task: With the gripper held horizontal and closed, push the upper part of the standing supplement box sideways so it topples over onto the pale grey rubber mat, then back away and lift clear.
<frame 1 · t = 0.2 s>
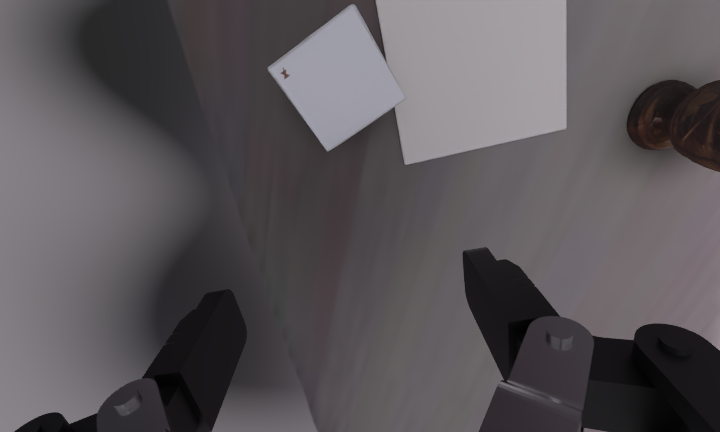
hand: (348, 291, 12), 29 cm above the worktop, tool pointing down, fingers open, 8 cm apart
supplement box: (340, 81, 37), on the worktop
mortar and pestle: (642, 118, 39), on the worktop
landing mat: (474, 50, 36), on the worktop
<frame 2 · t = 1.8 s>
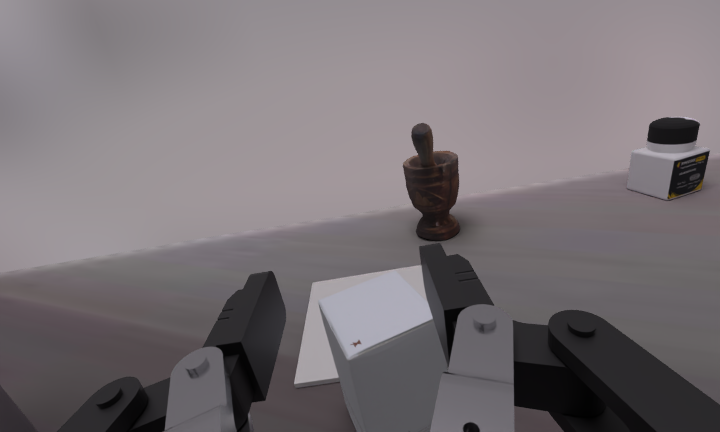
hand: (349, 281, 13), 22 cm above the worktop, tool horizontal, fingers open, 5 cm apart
supplement box: (398, 422, 31), on the worktop
medicine bottle: (661, 190, 60), on the worktop
mortar and pestle: (439, 236, 60), on the worktop
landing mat: (384, 315, 44), on the worktop
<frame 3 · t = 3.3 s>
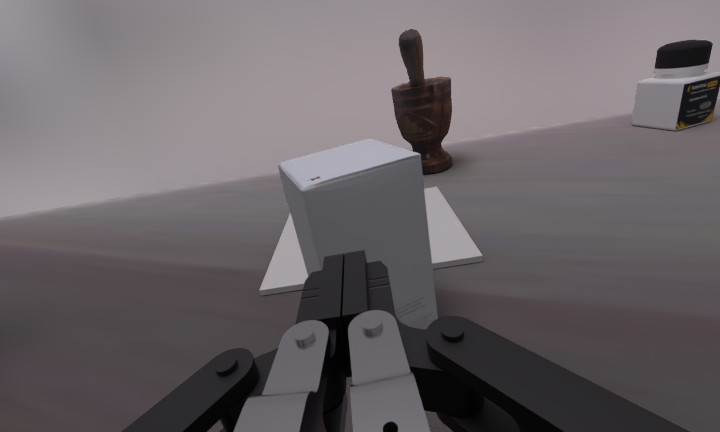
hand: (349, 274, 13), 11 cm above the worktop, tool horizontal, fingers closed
supplement box: (373, 319, 27), on the worktop
medicine bottle: (669, 125, 56), on the worktop
mortar and pestle: (430, 171, 56), on the worktop
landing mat: (366, 233, 40), on the worktop
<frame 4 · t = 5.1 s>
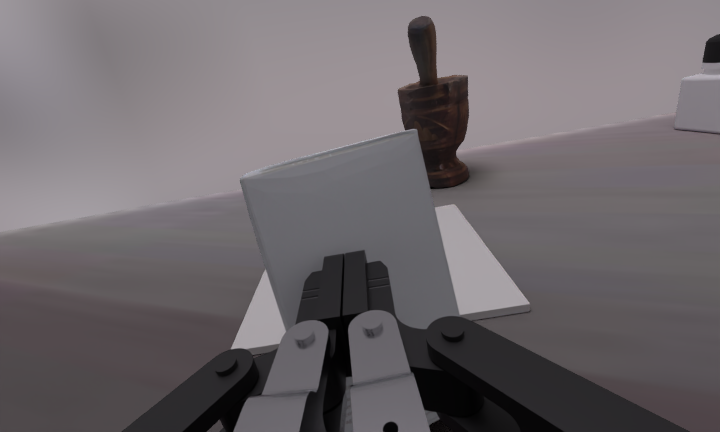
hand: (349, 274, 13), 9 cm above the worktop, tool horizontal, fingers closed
supplement box: (382, 392, 19), point 1 cm above the worktop
medicine bottle: (719, 128, 49), on the worktop
mortar and pestle: (444, 184, 48), on the worktop
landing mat: (371, 265, 32), on the worktop
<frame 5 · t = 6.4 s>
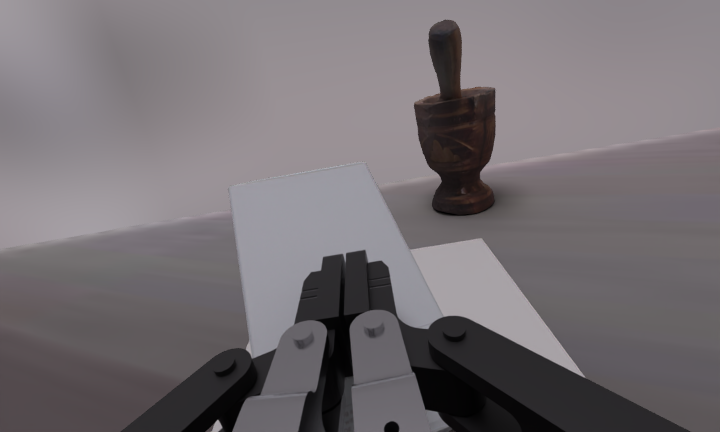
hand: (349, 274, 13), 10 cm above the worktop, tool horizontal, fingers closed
mortar and pestle: (466, 210, 42), on the worktop
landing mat: (385, 319, 26), on the worktop
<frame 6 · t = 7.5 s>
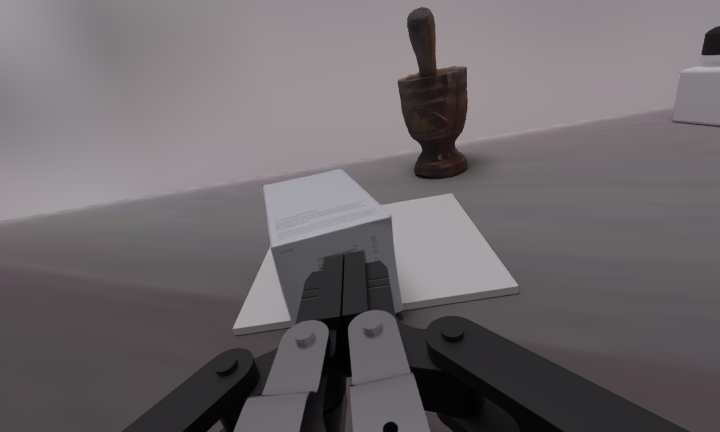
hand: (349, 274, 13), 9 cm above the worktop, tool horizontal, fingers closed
supplement box: (345, 285, 21), point 4 cm above the worktop, touching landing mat
medicine bottle: (717, 120, 49), on the worktop
mortar and pestle: (442, 175, 49), on the worktop
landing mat: (368, 250, 33), on the worktop
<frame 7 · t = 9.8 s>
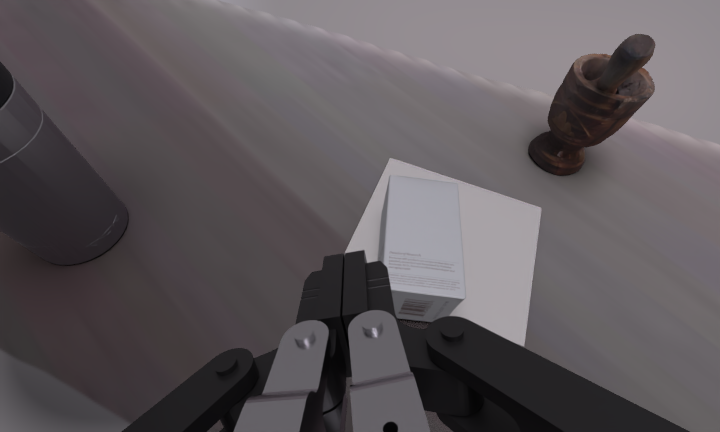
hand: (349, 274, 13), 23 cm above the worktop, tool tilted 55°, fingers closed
supplement box: (415, 311, 32), point 4 cm above the worktop, touching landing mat
mortar and pestle: (552, 165, 49), on the worktop
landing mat: (445, 239, 41), on the worktop
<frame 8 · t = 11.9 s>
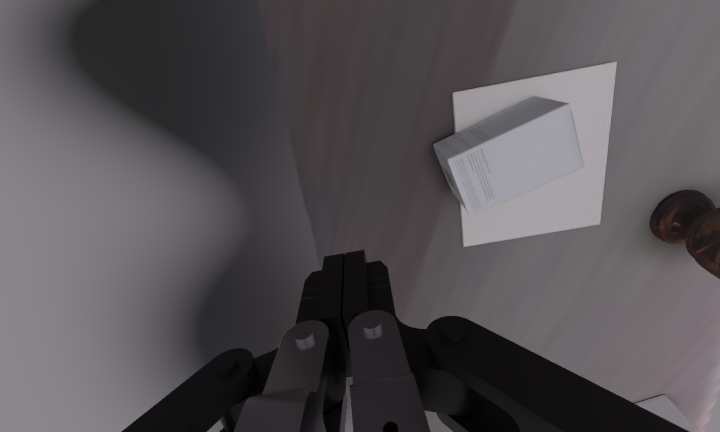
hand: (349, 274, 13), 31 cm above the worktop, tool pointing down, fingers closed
supplement box: (447, 180, 40), point 4 cm above the worktop, touching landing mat
medicine bottle: (644, 411, 62), on the worktop
mortar and pestle: (663, 216, 47), on the worktop
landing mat: (530, 162, 44), on the worktop
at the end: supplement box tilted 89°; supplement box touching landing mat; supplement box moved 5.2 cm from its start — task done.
